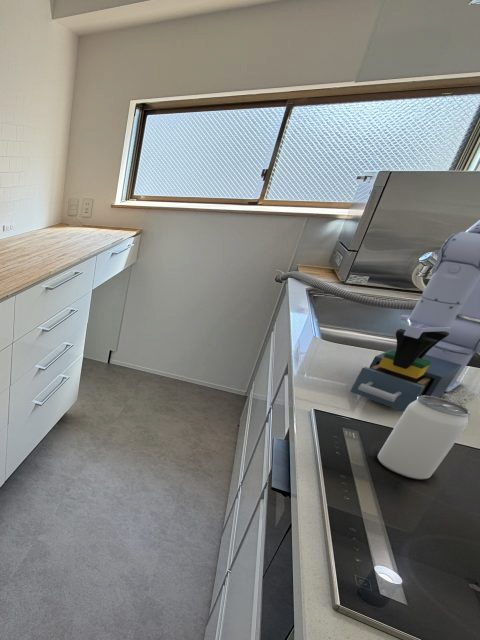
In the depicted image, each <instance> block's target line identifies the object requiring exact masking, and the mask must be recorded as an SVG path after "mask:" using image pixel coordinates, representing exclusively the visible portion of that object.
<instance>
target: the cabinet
mask: <svg viewBox="0 0 480 640" xmlns="http://www.w3.org/2000/svg"><path fill="white" fill-rule="evenodd" d="M396 348H397V346H395V347H393V348H390V349H389V350H387V351H384V352H382V353H380V354H377V355H375V356H374V358H373V359H372V361H371V363H370V365H369V367H368V368H370V369H371V368H372V367H374V366H376V365H378V364H380V362H381V360H382V358H383V357H384V355H385V353H388V352H390V351H392V350H394V351H396ZM422 359H425V360H428V361H431V363H430V365H429V367H428V368H427V370H426V372H425V373H424V376H427V377H430V378H433V379H434V381H433V383H432V384H431V386H430V387H429V389H428V391H427V392H426V394H425V395H424V396H432V397H437V398H441V397H442V396H443V395H444V393H446V392H445V391H446V389H447V388H448V386H449V384H450V383H451V381H452V380H453V378H454V377H455V375H456V374H457V372H458V371H459V369H460V368H461V366H462V365H460V364H457V363H453V362H450V361H446V360H443V359H439V358H436V357H432V356H428V355H424V356H423V358H422Z"/></svg>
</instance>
